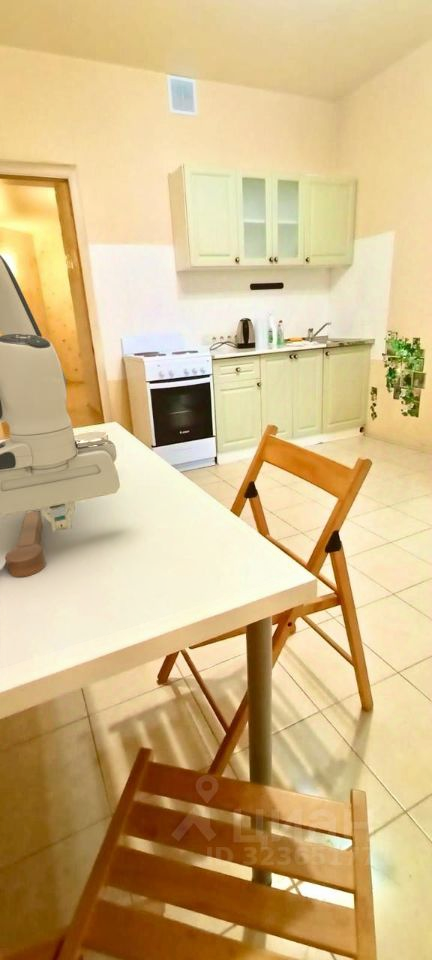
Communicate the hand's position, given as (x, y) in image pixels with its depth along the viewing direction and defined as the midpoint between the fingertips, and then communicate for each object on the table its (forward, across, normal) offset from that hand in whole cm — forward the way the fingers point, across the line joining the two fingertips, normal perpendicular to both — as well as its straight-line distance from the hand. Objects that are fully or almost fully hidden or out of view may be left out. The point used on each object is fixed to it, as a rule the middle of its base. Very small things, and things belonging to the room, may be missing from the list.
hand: (61, 528), depth 73 cm
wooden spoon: (+3, +5, -2) cm, 6 cm away
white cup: (+3, -10, -32) cm, 33 cm away
